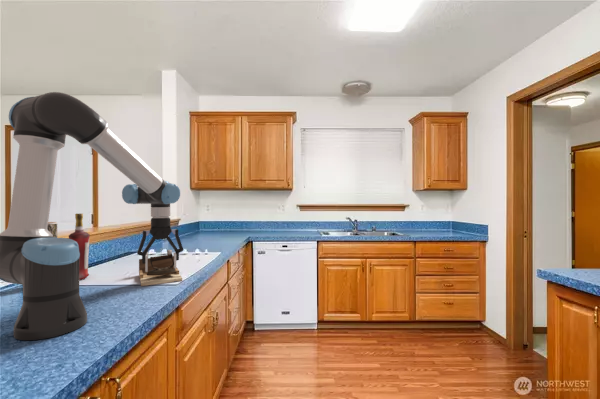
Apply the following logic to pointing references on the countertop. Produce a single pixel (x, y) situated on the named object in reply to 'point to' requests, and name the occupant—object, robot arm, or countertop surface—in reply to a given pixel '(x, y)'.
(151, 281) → the cradle
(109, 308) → the countertop surface
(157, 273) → the clothes iron
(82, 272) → the liquor
